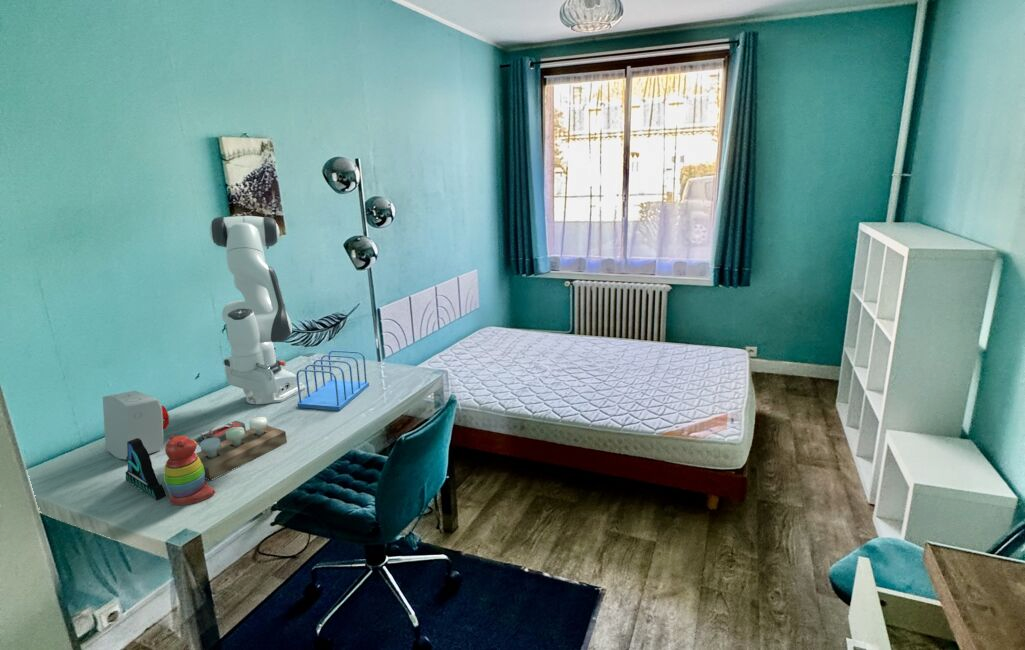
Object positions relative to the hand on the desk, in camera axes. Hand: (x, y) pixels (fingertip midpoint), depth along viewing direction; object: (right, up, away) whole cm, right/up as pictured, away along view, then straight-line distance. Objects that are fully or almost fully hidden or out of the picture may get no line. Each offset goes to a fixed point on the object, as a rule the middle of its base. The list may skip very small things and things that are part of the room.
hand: (254, 402), depth 171 cm
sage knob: (-4, -13, -4) cm, 14 cm away
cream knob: (0, -11, +3) cm, 11 cm away
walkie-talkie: (-17, -14, +9) cm, 24 cm away
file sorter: (+12, -4, +42) cm, 43 cm away
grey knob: (-8, -15, -10) cm, 19 cm away
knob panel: (-4, -17, -3) cm, 17 cm away
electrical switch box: (-38, -16, +4) cm, 41 cm away
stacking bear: (-7, -23, -23) cm, 33 cm away
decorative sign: (-22, -22, -19) cm, 36 cm away
